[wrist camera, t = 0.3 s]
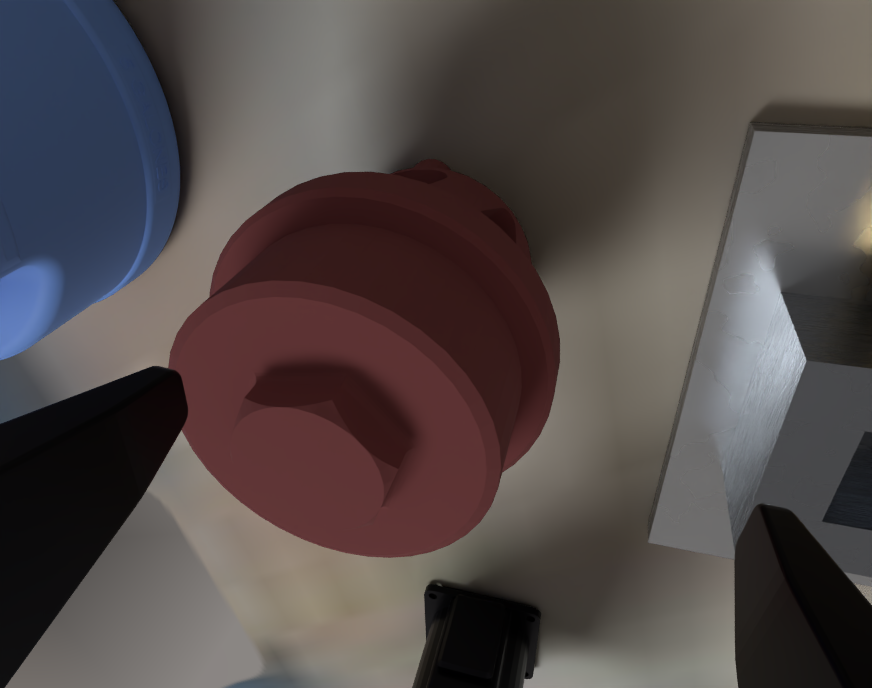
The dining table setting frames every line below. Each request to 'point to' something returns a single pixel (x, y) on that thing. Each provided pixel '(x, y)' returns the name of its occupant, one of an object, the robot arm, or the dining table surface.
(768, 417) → the square socket plate
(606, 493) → the dining table surface
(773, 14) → the dining table surface
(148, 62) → the water jug
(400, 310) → the mechanical component
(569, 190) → the dining table surface
